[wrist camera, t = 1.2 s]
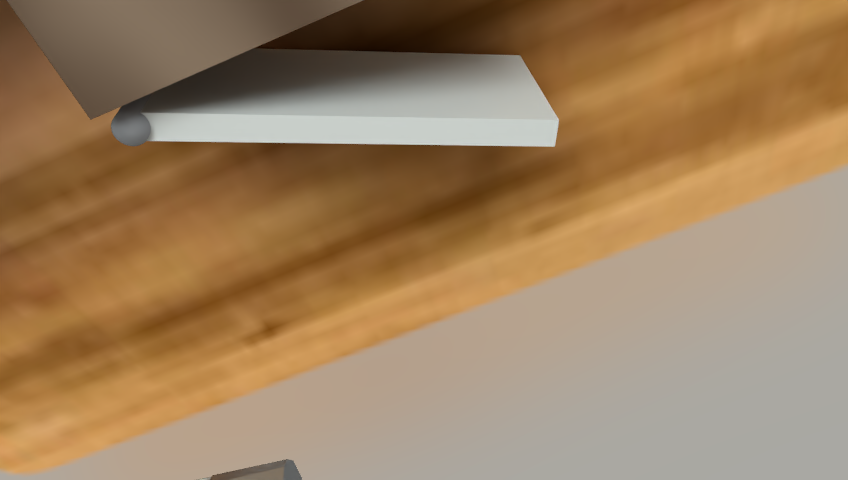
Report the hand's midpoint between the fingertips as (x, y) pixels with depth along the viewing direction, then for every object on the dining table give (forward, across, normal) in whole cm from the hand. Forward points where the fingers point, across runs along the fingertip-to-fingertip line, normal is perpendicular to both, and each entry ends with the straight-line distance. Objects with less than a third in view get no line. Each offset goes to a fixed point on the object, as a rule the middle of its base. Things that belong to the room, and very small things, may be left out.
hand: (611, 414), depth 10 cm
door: (+24, +4, +2) cm, 25 cm away
